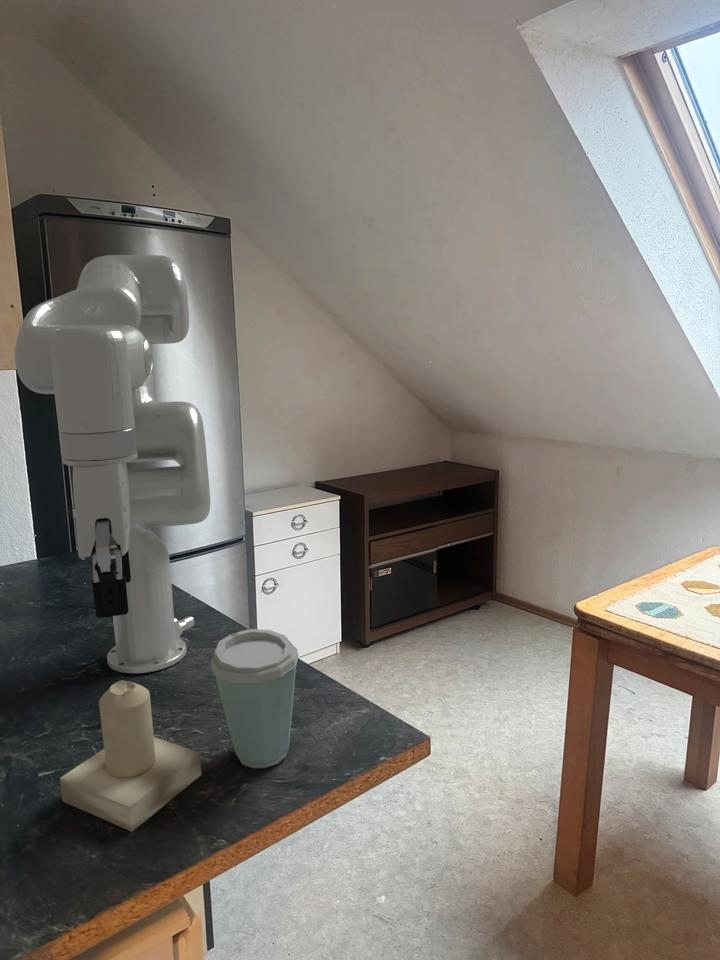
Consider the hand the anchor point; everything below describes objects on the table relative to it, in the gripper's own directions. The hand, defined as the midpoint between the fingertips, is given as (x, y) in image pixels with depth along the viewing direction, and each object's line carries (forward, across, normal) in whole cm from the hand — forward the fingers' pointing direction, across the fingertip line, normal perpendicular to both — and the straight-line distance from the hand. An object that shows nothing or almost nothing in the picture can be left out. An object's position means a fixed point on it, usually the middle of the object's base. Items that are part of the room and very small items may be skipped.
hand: (114, 598), depth 77 cm
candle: (+21, 0, 0) cm, 21 cm away
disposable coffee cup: (+24, -1, +15) cm, 28 cm away
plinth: (+24, +1, 0) cm, 24 cm away
